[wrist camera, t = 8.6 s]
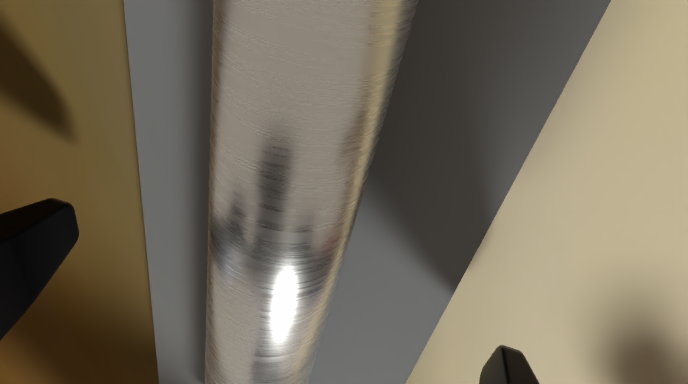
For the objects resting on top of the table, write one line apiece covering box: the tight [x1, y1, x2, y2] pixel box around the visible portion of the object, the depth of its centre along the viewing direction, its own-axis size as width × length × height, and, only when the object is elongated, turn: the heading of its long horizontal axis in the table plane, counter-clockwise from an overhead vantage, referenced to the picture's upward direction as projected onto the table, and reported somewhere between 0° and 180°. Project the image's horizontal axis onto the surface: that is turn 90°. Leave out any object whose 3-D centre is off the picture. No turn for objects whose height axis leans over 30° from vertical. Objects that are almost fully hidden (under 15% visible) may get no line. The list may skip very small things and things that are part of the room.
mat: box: [123, 0, 611, 384], centre depth 10 cm, size 16×7×1 cm, turn 169°
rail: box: [205, 0, 419, 384], centre depth 9 cm, size 15×2×2 cm, turn 169°
